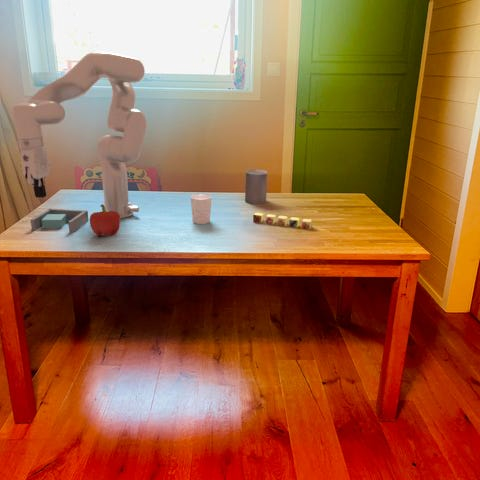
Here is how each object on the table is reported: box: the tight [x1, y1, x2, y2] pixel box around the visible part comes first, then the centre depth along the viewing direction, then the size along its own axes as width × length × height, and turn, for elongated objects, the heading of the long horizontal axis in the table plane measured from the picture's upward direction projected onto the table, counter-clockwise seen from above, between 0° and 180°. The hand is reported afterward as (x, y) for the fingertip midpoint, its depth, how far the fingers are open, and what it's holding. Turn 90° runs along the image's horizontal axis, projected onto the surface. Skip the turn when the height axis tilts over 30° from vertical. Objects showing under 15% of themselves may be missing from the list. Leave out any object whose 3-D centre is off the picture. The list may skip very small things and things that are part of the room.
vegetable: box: [89, 204, 121, 237], centre depth 169 cm, size 11×10×10 cm
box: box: [30, 208, 89, 233], centre depth 178 cm, size 15×14×4 cm
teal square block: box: [41, 214, 68, 229], centre depth 178 cm, size 7×7×4 cm
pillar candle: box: [244, 168, 268, 205], centre depth 213 cm, size 10×10×15 cm
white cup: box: [190, 193, 212, 225], centre depth 185 cm, size 8×8×10 cm
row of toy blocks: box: [252, 212, 313, 230], centre depth 183 cm, size 32×32×3 cm
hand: (41, 196), depth 162 cm, fingers closed
